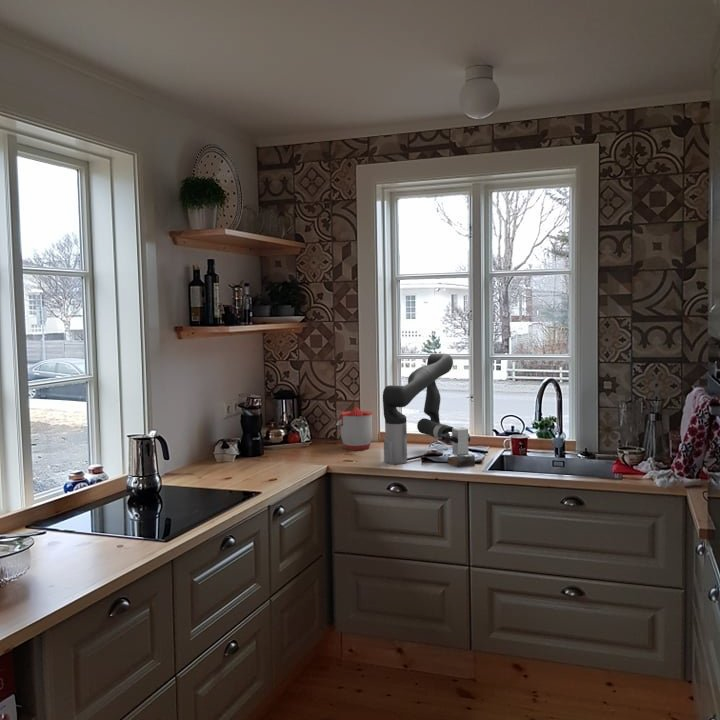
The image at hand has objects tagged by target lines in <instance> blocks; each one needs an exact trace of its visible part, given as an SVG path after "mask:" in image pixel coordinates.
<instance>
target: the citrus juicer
mask: <svg viewBox="0 0 720 720" xmlns="http://www.w3.org/2000/svg"><path fill="white" fill-rule="evenodd" d="M339 419H340V420H339ZM339 419H338V421H336V424H335V425H336V426H340V436H341V441H342V445H343V447H344V449H346V450H349V451H361V450H363V451H364V450H365V449H366V450H368V449H369V448H370V446H371V443H372V437H373V411H368V410H367V411H366V410H361V409H360V408H358V406H355V407H353V409H352V410H348V411H343V412H340V415H339Z"/></svg>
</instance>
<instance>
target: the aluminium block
mask: <svg viewBox="0 0 720 720" xmlns="http://www.w3.org/2000/svg"><path fill="white" fill-rule="evenodd" d="M468 434H469V428H465V427H462V426H461V427H453V428H452V436H453V437H456V438H458V443H454V442H452V443H451V444H452V445H451V446H452V449H451V450H452V452H451V453H452V455H455V456H468V455H469V442H468ZM469 456H470V455H469Z"/></svg>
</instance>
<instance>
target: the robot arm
mask: <svg viewBox="0 0 720 720" xmlns="http://www.w3.org/2000/svg"><path fill="white" fill-rule="evenodd" d="M453 365H454V360H453V358H452V356H451V355H450V354H448V353H432V354H430V355H429V356H428V358H427V362H426V364H425V365H423V366H421V367H418V368H416V369H415V370H414V371H412V372H411V373H410V374H409V376H408V378H407V384H405V385H386V386H385V387H384V389H383V392H382V408H383V409H382V410H383V419H384V424H385V425H384V429H385V431H384V432H385V436H384V437H385V438H384V439H383V461H384V463H386V464H389V465H393V464H394V465H396V464H397V465H398V464H399V465H400V464H406V463H407V462H408V444H407V443H408V440H407V439H408V437H407V436H408V435H407V434H408V433H407V429H408V428H407V416H406V415H405V414H403V413H401V412H400V411H399V410H398V409H397V408H405V407H406V406H408V405H409V404H410V403H411V402H412V400H413V399H415V398H416V396H418V395H419V394H420V393H421V392H422V391H424V390H425V389H426V394H425V401H424V407H423V413H424V414H425V415H427V416H429V418H430V419H428V418H424V417H423V418H421V419H420V420H418V422H417V424H416V428H417V430H418V432H419V433H420V434H424V435H427V436H430V437H433V438H434V439H437V440H438V441H440V442H442V443H445V444H452V442H454V443H458V438H456V437H453V436H452V428H454V427H453V426H451V425H448V424H445V423H441V420H440V407H441V406H440V405H441V394H440V392H439V389H438V386H437V383H436V381H437V380H438V379H439V378H441V377H442V376H444V375H446V374H448V373H449V372H450V371H451V370H452V368H453ZM470 442H471V437H470V433H468V443H470Z"/></svg>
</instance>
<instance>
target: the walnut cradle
mask: <svg viewBox="0 0 720 720" xmlns="http://www.w3.org/2000/svg"><path fill="white" fill-rule="evenodd" d="M447 464H450V465H452V466H453V467H456V468H462V467H463V468H464V467H466V468H467V467H473V466H476V455H469V456H468V455H463V456H457V455H455V456H449V457H447Z"/></svg>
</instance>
